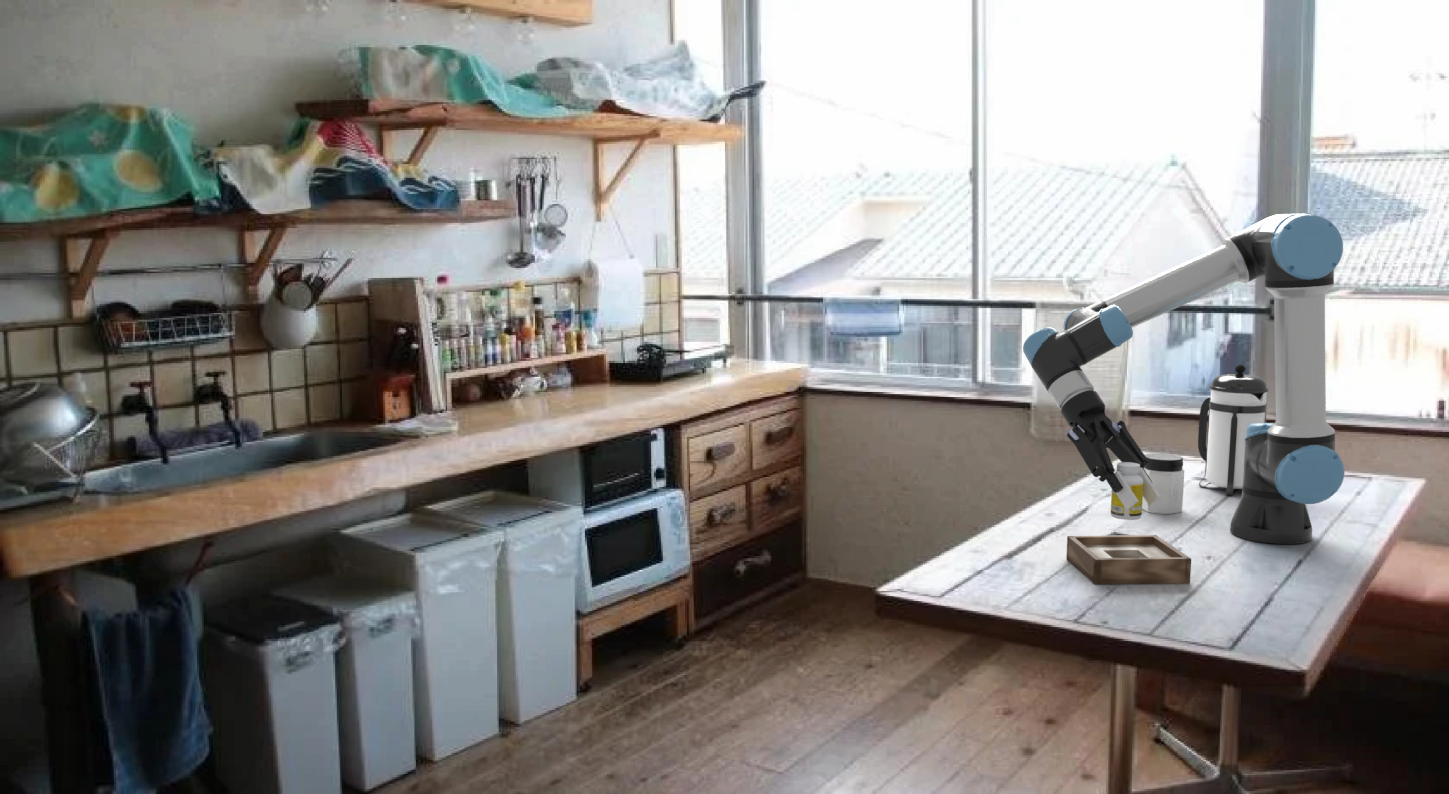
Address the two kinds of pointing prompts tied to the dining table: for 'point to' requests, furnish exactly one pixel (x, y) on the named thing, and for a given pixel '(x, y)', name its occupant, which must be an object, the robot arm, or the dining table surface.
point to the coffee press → (1229, 426)
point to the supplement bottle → (1136, 485)
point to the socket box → (1128, 560)
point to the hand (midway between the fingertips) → (1143, 503)
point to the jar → (1165, 482)
